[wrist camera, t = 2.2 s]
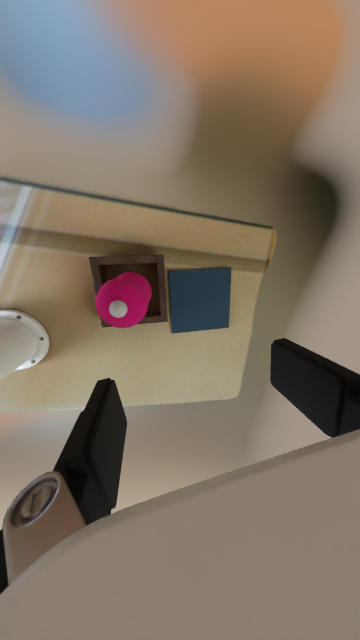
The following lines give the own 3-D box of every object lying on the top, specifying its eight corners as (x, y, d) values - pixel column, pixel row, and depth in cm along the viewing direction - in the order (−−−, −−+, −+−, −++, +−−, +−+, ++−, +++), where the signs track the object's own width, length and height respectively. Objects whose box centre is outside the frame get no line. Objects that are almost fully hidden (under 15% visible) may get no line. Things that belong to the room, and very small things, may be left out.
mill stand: (107, 320, 36) (101, 327, 32) (96, 258, 33) (88, 257, 28) (165, 315, 38) (167, 321, 34) (161, 256, 35) (163, 254, 30)
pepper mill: (108, 293, 35) (61, 319, 16) (128, 264, 34) (103, 255, 15) (138, 312, 37) (127, 356, 18) (158, 286, 36) (168, 303, 17)
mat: (172, 332, 40) (172, 333, 39) (168, 270, 36) (168, 270, 35) (227, 326, 42) (228, 327, 41) (230, 268, 38) (231, 267, 37)
